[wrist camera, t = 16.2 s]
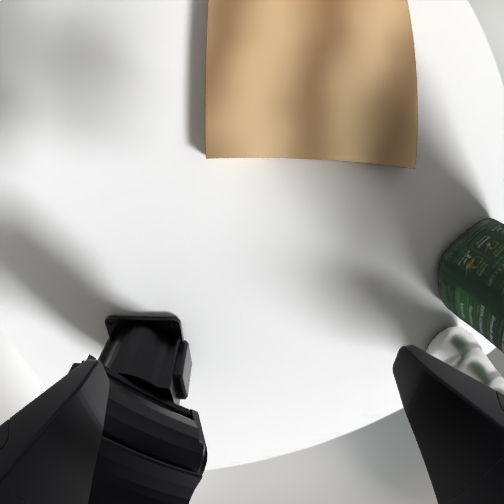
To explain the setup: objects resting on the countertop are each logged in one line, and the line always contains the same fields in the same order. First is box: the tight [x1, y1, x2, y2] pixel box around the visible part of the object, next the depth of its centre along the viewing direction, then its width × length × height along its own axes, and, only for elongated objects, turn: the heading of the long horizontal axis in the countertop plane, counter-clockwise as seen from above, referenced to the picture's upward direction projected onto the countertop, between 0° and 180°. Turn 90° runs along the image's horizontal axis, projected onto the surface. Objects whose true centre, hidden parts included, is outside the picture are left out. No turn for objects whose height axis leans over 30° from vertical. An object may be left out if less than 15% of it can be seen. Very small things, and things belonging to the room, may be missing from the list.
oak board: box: [205, 0, 417, 169], centre depth 13 cm, size 14×22×2 cm, turn 0°
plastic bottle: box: [426, 326, 504, 394], centre depth 17 cm, size 6×7×20 cm
